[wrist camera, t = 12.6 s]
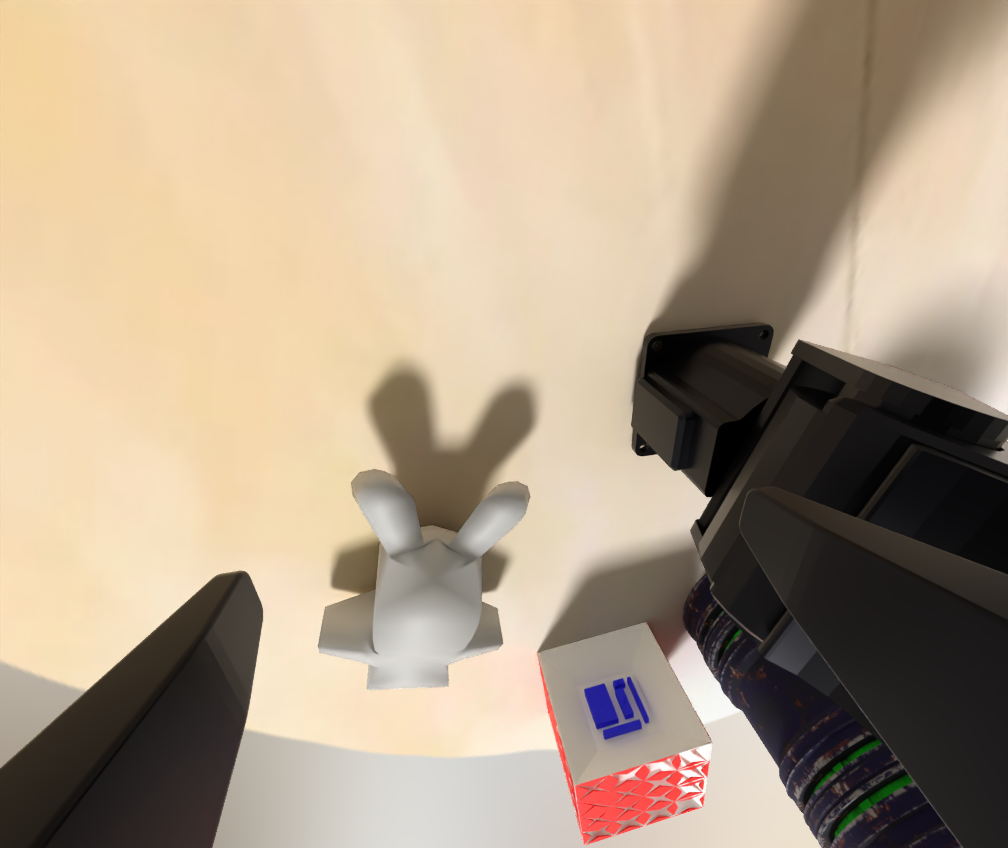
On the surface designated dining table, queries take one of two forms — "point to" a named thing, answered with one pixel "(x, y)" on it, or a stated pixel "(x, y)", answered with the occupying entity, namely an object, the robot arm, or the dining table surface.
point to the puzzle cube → (624, 732)
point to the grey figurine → (420, 588)
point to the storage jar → (815, 744)
